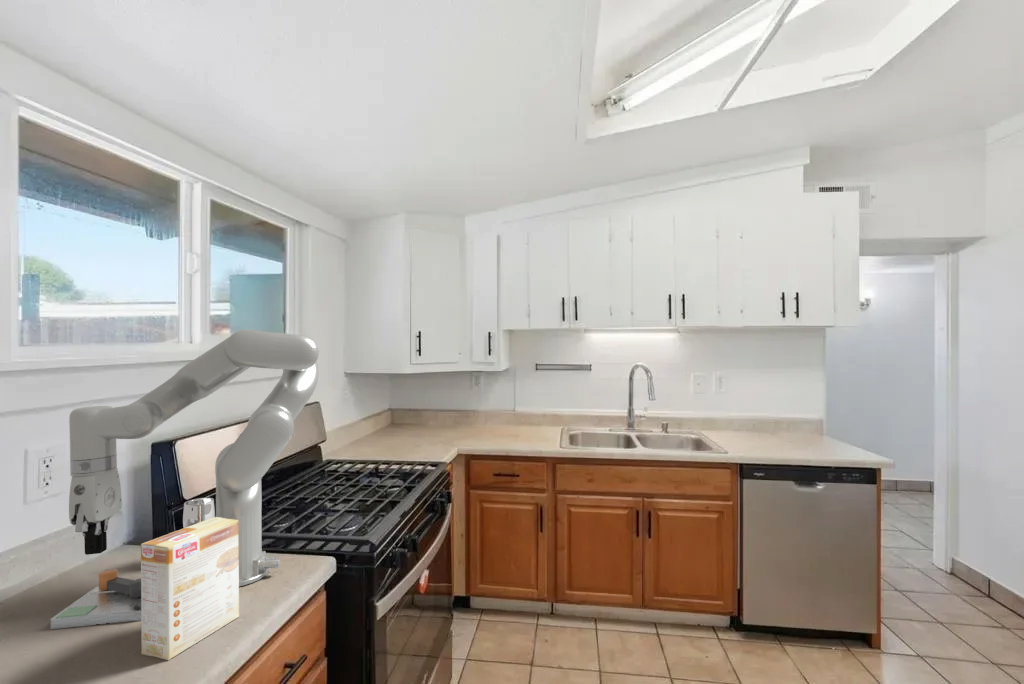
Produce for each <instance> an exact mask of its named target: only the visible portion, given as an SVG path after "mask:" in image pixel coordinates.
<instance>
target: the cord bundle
mask: <svg viewBox="0 0 1024 684" xmlns="http://www.w3.org/2000/svg"><path fill="white" fill-rule="evenodd" d="M140 609H141V601H140V602H138V603H137V604H136V605H135V606H134V610H136V611H138V610H140Z"/></svg>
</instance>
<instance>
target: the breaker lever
mask: <svg viewBox="0 0 1024 684" xmlns="http://www.w3.org/2000/svg"><path fill="white" fill-rule="evenodd" d="M98 586H99V590H106V589H108V590H113V591H118V592H123V593H127V594H130V597H139V596H141V577H140V578H137V579H130V578H125V577H120V576H118V569H108V570H103V571H102V572H100V573H98Z"/></svg>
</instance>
